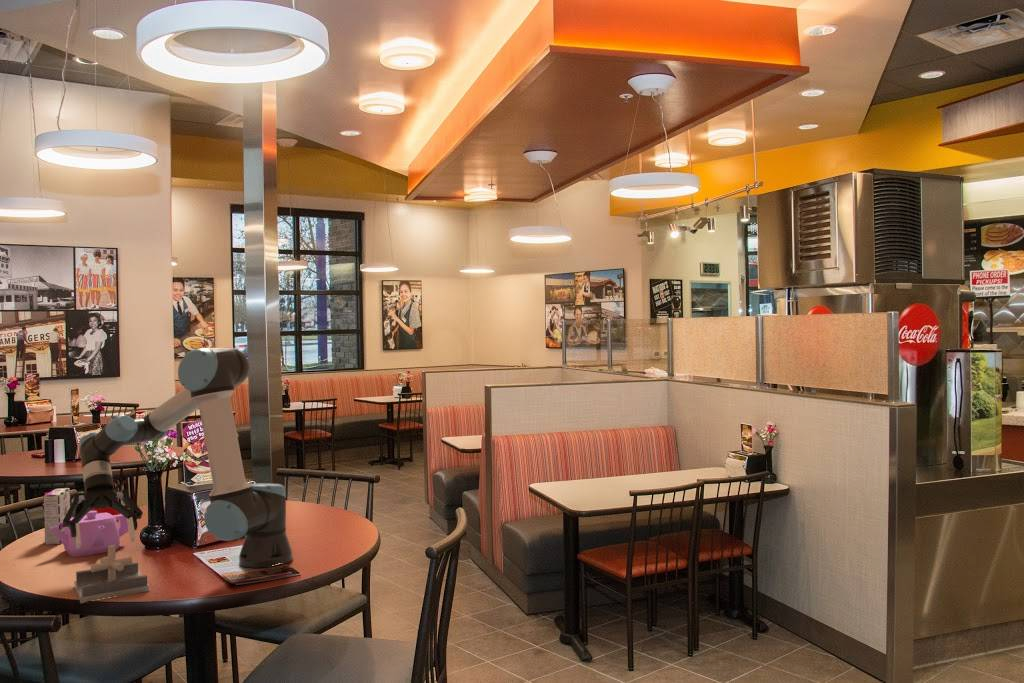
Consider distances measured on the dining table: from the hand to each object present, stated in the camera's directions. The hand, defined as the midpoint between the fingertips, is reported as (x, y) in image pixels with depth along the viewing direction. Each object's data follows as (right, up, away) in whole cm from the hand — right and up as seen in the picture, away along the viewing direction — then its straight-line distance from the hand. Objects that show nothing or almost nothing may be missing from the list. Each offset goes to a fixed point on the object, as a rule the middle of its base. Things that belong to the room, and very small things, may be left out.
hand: (106, 542), depth 215 cm
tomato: (-36, -10, +68) cm, 78 cm away
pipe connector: (+6, -9, -9) cm, 14 cm away
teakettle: (-20, -10, +29) cm, 36 cm away
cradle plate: (+6, -10, -9) cm, 15 cm away
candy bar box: (-38, -10, +41) cm, 57 cm away
